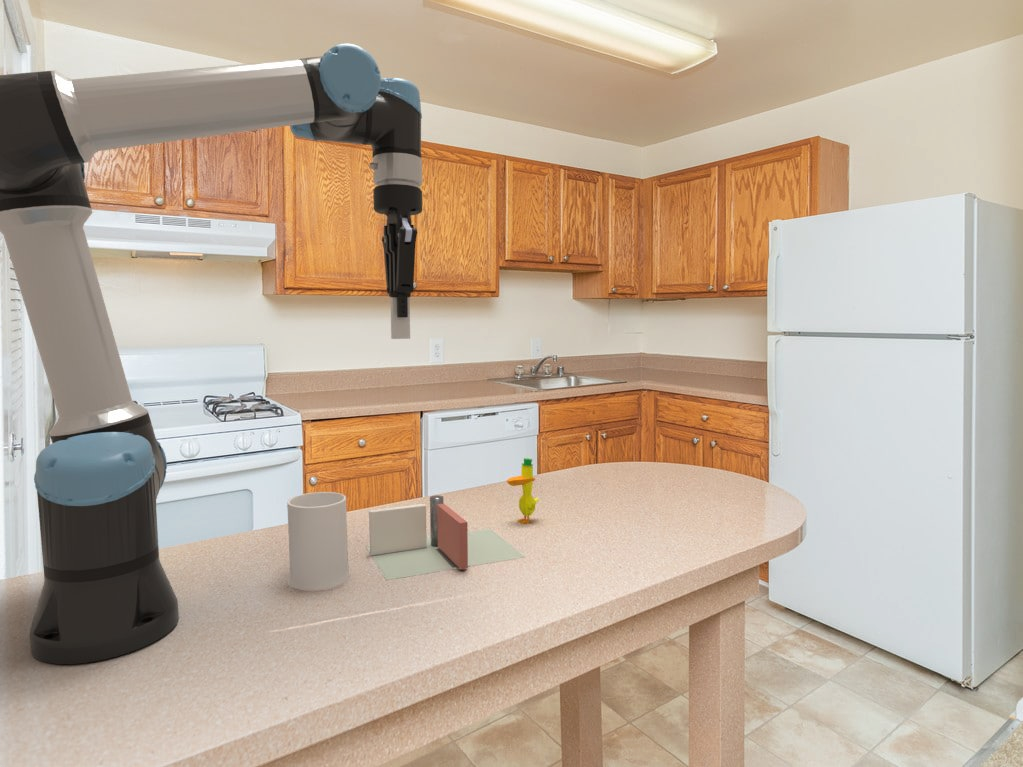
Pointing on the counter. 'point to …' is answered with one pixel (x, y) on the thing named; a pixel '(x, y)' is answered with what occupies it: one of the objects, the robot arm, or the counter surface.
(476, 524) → the counter surface
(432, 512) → the post
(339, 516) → the mug
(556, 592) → the counter surface
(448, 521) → the red panel
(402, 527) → the fixed panel
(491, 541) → the card
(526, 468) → the toy figure
